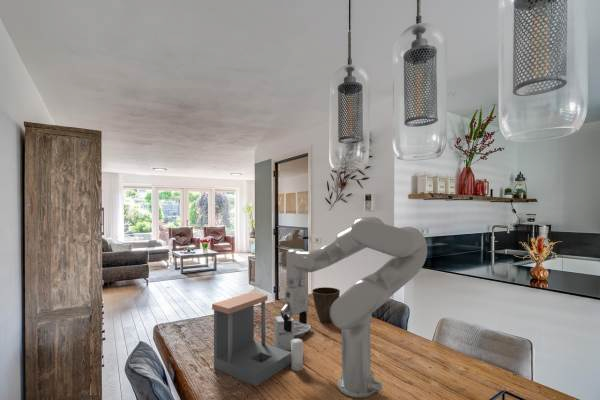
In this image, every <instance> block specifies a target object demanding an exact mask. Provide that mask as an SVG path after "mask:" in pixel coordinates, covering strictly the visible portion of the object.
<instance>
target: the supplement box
mask: <svg viewBox="0 0 600 400" xmlns="http://www.w3.org/2000/svg"><path fill="white" fill-rule="evenodd" d="M289 315H290V314H288V315H287V316H288V317H289ZM273 320H274V322H273V323H274V324H273V325H274V333H273V334H274V341H273V343H274V344H273V345H274V347H277V348H280V349H283V350H286V351H291V340H293V339H294V321H295V320H294V318H293V317H292V318H291V320H290V321H292V331H291V332H288V331H285V330H284V320H283V318H282V315H277V316H274V319H273Z"/></svg>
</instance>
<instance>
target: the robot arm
mask: <svg viewBox="0 0 600 400" xmlns="http://www.w3.org/2000/svg"><path fill="white" fill-rule="evenodd" d="M427 244H428V243H427V241H426V238H425V236H424V234H423V233H422V232H421V231H420V230H419V229H418V228H416V227H412V226H402V227H398V226H394V225H390V224H386V223H384V221H382V220H381V219H380V218H379V217H376V216H366V217H365V216H364V217H360V218H357V219H356V220H355V221H354V222H353V224H352V225H351V227H348V228H347V229H344V230H343V231H340V232H339V233H337V235H336V237H335V240H334V241H331V242H330V243H329V244H326V245H324V246H323V247H321V248H317V249H313V250H308V251H306V250H305V249H302V248H291V249H288V250H287V251H286V265H285V266H286V269H285V270H286V273H285V274H286V276H285V277H286V278H285V279H286V280H285V281H286V282H285V283H286V285H285V290H284V299H283V301H284V302H283V304H284V305H283V307H282V308H281V309H280V311H279V312H280V316H282V318H283V320H284V330H285V331H288V332H291V331H292V321H290V320H291V318H293V316H296V315H299V317H298V318H299V319H298V321H299V322H300V323H303V324H306V323H307V321H308V316H307V315H308V312H309V311H308V309H309V304H310V301H311V300H310V299H309V292H308V291H309V290H308V286H307V285H308V284H307V273H315V272H316V271H319V270H323V269H326V268H328V267H330V266H332V265H334V264H337V263H338V262H340V261H342V260H344V259H346V258H349V257H351V256H352V255H355V254H357V253H358V252H360V251H362V250H364V249H366V248H368V249H371V250H373V251H377V252H380V253H383V254H385V255H388V256H391V257H392V258H390V259H389V260H388V261H387V262H385V264H383V265H382V266H381V267H380V268H379V269H377V270H376V271H375V272H373V273H372V274H371V273H370V274H368V275H367V276H365V277H362V278H361V279H359V280H358V281H356V282H355V283H354V284H352V286H350V287H349V288H348V289H347V290H345V292H344V293H341V295H339V298H338V299H336V300H335V301H334V302H333V304H332V306H331V308H330V318H331V320H332V322H331V323H332V324H333V325H334V326H335V327H336V328H337V329H340V330H341V376H340V377H339V378H338V380H337V388H338V390H339V391H340V392H341V393H342V394H344V395H346V396H349V397H351V398H359V399H360V398H361V399H362V398H367V397H370V396H372V395H373V394H374V393H376V392H378V393H382V392H383V390H384V389H383V385H382V381H379V380H376V379H375V378H374V373H372V372H371V370H372V369H371V367H372V365H371V362H372V361H371V356H372V355H371V323H372V315H373V313H374V312H375V311H376V310H378V309H379V308H380V307H382V306H383V305H385V303H386V302H387V301H389V299H390V298H391V297H392V296H393V295H394V294H395V293H397V292H398V291H399V290H400V289H402V287H404V286H405V285H406V284H407V283H408V282H410V281H411V280H413V278H415V276H417V274H419V272H421V269H423V266H424V265H425V262H426V261H427V260H426V259H427V256H428V245H427ZM287 315H289V317H288V316H287ZM307 324H308V323H307Z"/></svg>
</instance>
